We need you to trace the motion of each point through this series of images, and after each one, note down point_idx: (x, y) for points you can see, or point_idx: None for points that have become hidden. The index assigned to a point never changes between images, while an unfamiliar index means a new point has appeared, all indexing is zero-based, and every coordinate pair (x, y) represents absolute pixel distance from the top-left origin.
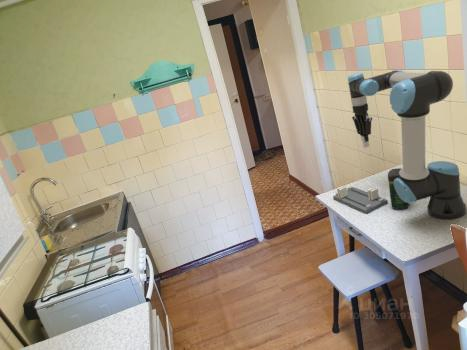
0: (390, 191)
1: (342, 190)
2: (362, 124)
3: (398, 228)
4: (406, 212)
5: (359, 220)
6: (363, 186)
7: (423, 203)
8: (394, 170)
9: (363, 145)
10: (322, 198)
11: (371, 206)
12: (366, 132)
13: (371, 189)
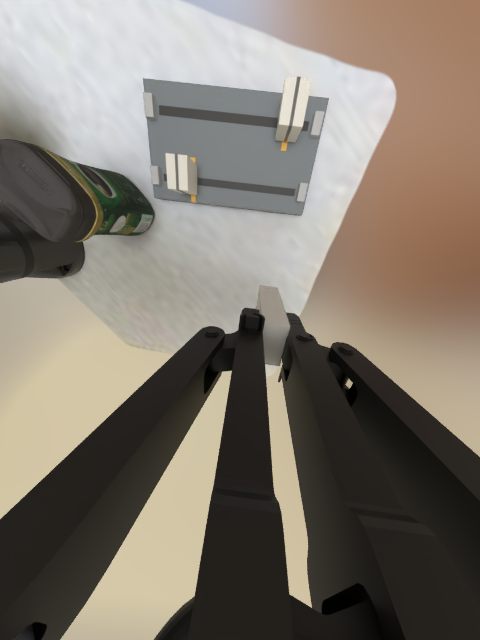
0: (85, 165)
1: (282, 97)
2: (245, 477)
3: (18, 76)
4: None
5: (128, 21)
6: (288, 251)
7: (105, 246)
8: (32, 197)
9: (273, 291)
10: (376, 79)
11: (148, 118)
12: (199, 347)
13: (178, 168)
